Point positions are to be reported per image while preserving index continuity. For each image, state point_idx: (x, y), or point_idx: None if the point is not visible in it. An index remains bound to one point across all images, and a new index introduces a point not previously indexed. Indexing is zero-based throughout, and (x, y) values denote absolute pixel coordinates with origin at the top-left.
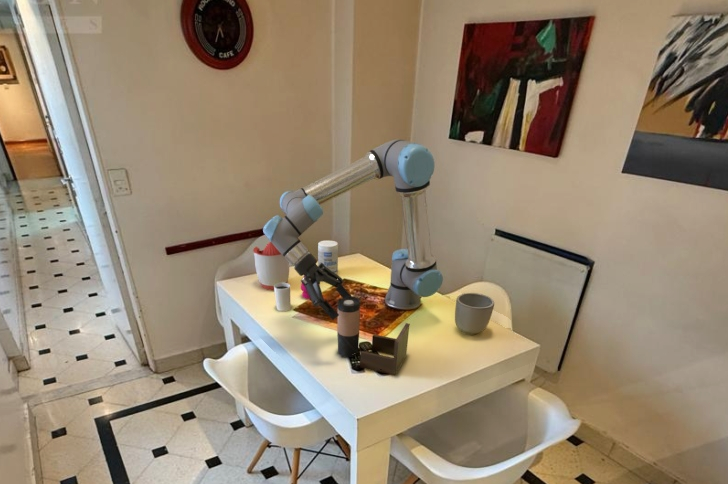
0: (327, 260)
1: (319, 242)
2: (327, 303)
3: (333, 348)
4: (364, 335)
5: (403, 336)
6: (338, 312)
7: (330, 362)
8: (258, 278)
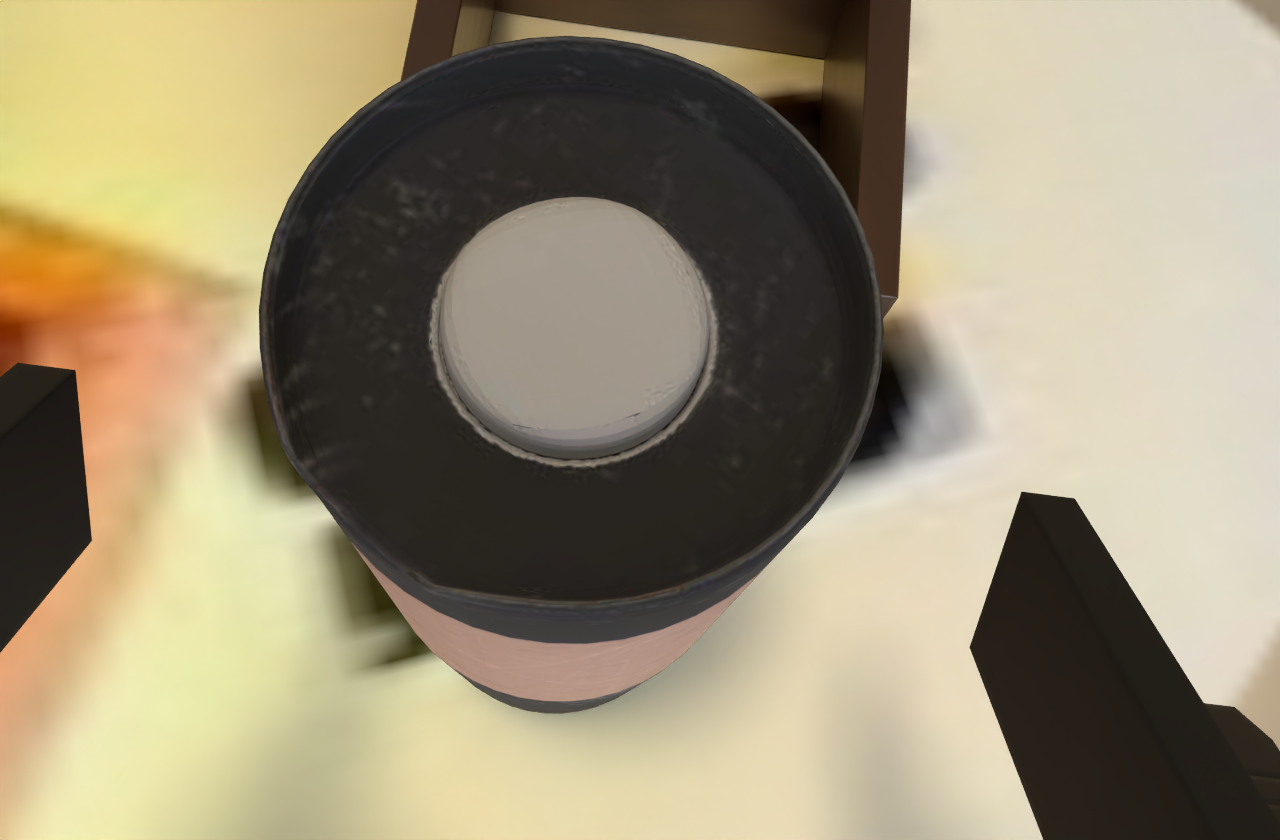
0: None
1: None
2: (1247, 785)
3: (503, 801)
4: None
5: None
6: (732, 597)
7: (845, 738)
8: None
